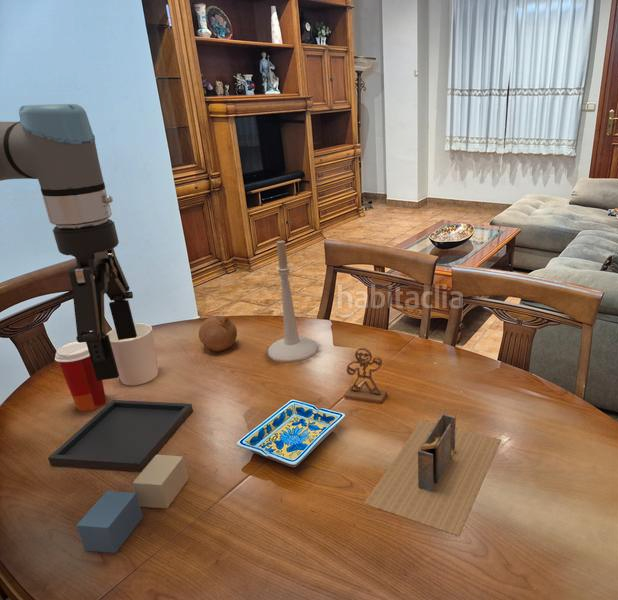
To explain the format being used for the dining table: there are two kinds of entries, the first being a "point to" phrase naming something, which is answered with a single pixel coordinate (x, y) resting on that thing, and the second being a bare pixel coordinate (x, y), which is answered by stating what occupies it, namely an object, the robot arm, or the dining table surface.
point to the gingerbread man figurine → (365, 393)
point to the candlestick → (289, 321)
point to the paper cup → (81, 376)
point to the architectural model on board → (436, 475)
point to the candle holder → (135, 356)
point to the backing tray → (122, 436)
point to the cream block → (161, 481)
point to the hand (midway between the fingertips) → (118, 356)
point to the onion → (217, 333)
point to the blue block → (110, 521)
